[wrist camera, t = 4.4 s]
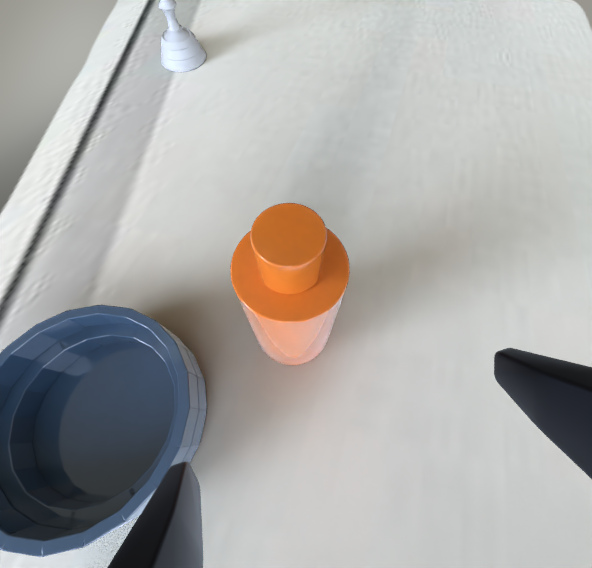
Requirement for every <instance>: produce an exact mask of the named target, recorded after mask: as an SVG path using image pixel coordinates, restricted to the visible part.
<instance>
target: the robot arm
mask: <svg viewBox="0 0 592 568" xmlns="http://www.w3.org/2000/svg"><path fill="white" fill-rule="evenodd" d="M494 375H495V378H496V380H497V382H498V383H499V385H500V386H501V387H502V388H503V389H504V390H505V391H506V392H507V394H508V395H509V396H510V397H511V398H512V399H513V400H514V401H515V403H516V404H517V405H518V406H519V407H520V408H521V409H522V410H523V412H524V413H525V414H526V415H527V416H528V417H529V418H530V419H531V421H532V422H533V423H534V424H535V425H536V426H537V427H538V428H539V429H540V430H541V431H542V432H543V433H544V434H545V435H546V436H547V437H548V438H549V439H550V440H551V441H552V442H553V443H554V444H555V445H557V446H558V447H559V448H560V449H561V450H562V451H563V452H564V453H565V454H566V455H567V456H568V457H569V458H570V459H571V460H572V461H573V462H574V463H575V464H577V465H578V466H579V467H580V468H581V469H582V470H583V471H584V472H585V473H586V474H587V475H588V476H589V477H590V478H591V479H592V367H588V366H584V365H580V364H575V363H571V362H567V361H563V360H559V359H555V358H550V357H546V356H542V355H538V354H534V353H530V352H526V351H521V350H517V349H513V348H506V349H503V350H501V351H498V352H496V354H495V358H494ZM108 568H203V541H202V519H201V497H200V486H199V483H198V480H197V478H196V476H195V474H194V472H193V470H192V468H191V466H190V464H189V463H188V462H187V461H184V462H181V463H178V464H175V465H173V466H171V467H170V468H169V469H168V471H167V473H166V474H165V476H164V477H163V479H162V481H161V482H160V484H159V486H158V487H157V489H156V490H155V492H154V494H153V495H152V497H151V498H150V500H149V502H148V503H147V505H146V506H145V508H144V510H143V511H142V513H141V515H140V516H139V518H138V519H137V521H136V523H135V524H134V526H133V527H132V529H131V531H130V532H129V534H128V536H127V537H126V539H125V540H124V542H123V544H122V545H121V547H120V548H119V550H118V552H117V553H116V555H115V556H114V558H113V560H112V561H111V563H110V565H109V566H108Z"/></svg>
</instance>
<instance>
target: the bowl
mask: <svg viewBox="0 0 592 568" xmlns="http://www.w3.org/2000/svg"><path fill="white" fill-rule="evenodd" d="M206 413H207V404H206V390H205V380H204V377H203V375H202V373H201V370H200V368H199V365H198V363H197V361H196V358H195V356H194V355H193V353H192V352H191V351H190V350H189V349H188V348H187V347H186V346H185V345H184V344H183V342H182V341H181V340H180V339H179V338H178V337H177V336H176V335H174V334H173V333H172V332H170V331H169V330H168V329H166V328H165V327H164V326H162V325H161V324H160V323H158V322H157V321H156V320H154V319H152V318H150V317H147V316H145V315H143V314H141V313H139V312H137V311H135V310H133V309H130V308H124V307H115V306H107V305H96V306H90V307H85V308H79V309H73V310H69V311H65V312H63V313H61V314H58V315H56V316H54V317H52V318H50V319H47V320H45V321H43V322H41V323H39V324H36V325H35V326H33V327H32V328H31V329H30V330H28V331H27V332H26V333H24V334H23V335H22V336H20V337H19V338H18V339H16V340H15V341H14V342H12V343H11V344H10V345H9V346H7V347H6V348H5V349H4V350H3V351H2V352H1V353H0V550H2V551H7V552H13V553H20V554H26V555H32V556H38V557H44V556H48V555H53V554H57V553H61V552H66V551H70V550H74V549H79V548H83V547H85V546H87V545H89V544H91V543H93V542H95V541H96V540H98V539H100V538H102V537H103V536H105V535H107V534H109V533H111V532H112V531H114V530H116V529H118V528H120V527H121V526H123V525H125V524H126V523H128V522H130V521H131V520H133V519H135V518H136V517H138V516H140V515H141V513H142V511H143V510H144V508H145V506H146V505H147V503H148V502H149V500H150V498H151V497H152V495H153V494H154V492H155V490H156V489H157V487H158V486H159V484H160V482H161V481H162V479H163V477H164V476H165V474H166V473H167V471H168V469H169V468H170V467H171V466H173V465H175V464H178V463H181V462H184V461H187V462H188V463H190V461H191V460H192V458H193V456H194V454H195V452H196V450H197V448H198V446H199V443H200V440H201V435H202V431H203V426H204V422H205V417H206Z"/></svg>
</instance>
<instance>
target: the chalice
mask: <svg viewBox="0 0 592 568" xmlns="http://www.w3.org/2000/svg"><path fill="white" fill-rule="evenodd" d="M175 6H176V2H175V1H174V0H160V2H159V5H158V7H159V8H160V9H161V10H163V12H164V13H165V15H166V17H167V20H168V28H167V30H166V31H165V32H164V33H163V35H162V38H161V53H162V55H161V64H162V65H163V67H165V68H166V69H168V70H171V71H174V72H184V71H190V70H193V69H196V68H197V67H199V66H200V65H202V64H203V62H204V61H205V59H206V52H205V51H204V49H203V48H202V47H201V46H200V43H199V42H198V40H197V39H196V38H195V35H194V34H193V33H192V32H191V31H190V30H189V29H187V28H184V27H182V26H181V25H180V24H179V23H178V21H177V19H176V16H175Z"/></svg>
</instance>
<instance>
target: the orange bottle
mask: <svg viewBox="0 0 592 568" xmlns="http://www.w3.org/2000/svg"><path fill="white" fill-rule="evenodd" d="M230 274H231V281H232V284H233V288H234V290H235V292H236V294H237V297H238V299H239V301H240V303H241V305H242V308H243V310H244V312H245V314H246V316H247V318H248V321H249V323H250V325H251V327H252V329H253V332H254V334H255V336H256V338H257V340H258V343H259V345H260V347H261V348H262V350H263V351H264V352H265V354H266V355H268V356H269V357H270V358H271V359H273V360H275V361H277V362H279V363H282V364H286V365H299V364H303V363H306V362H309V361H311V360H312V359H314V358H315V357H317V356H318V355H319V354H320V353H321V352H322V350H323V349H324V347H325V346H326V344H327V341H328V338H329V336H330V333H331V330H332V327H333V324H334V321H335V319H336V316H337V313H338V310H339V307H340V304H341V301H342V299H343V296H344V293H345V290H346V287H347V284H348V280H349V274H350V265H349V259H348V256H347V253H346V250H345V248H344V246H343V245H342V243H341V242H340V240H339V239H338V238H337V237H336V235H335V234H334V233H332V232H331V231H330V230H329V229H327V228H326V227H325V224H324V222H323V220H322V219H321V217H320V216H319V215H318V214H317V213H316V212H315V211H313V210H312V209H310V208H308V207H306V206H304V205H300V204H295V203H283V204H278V205H274V206H272V207H270V208H268V209H266V210H265V211H263V212H262V213H261V214H260V215H259V216H258V217H257V218H256V220H255V221H254V223H253V226H252V228H251V231H250V232H248V233H247V234H246V235H245V236H244V237H243V239H242V240H241V241H240V243H239V244H238V246H237V247H236V250H235V252H234V254H233V257H232V261H231V271H230Z"/></svg>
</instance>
